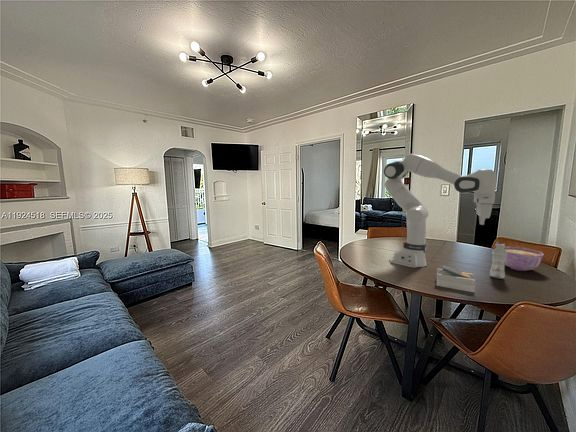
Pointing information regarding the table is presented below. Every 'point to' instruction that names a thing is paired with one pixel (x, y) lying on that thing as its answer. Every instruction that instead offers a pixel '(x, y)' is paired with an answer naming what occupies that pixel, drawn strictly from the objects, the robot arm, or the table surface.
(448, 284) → the box
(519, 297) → the table surface
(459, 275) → the gray and orange tool
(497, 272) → the plastic bottle
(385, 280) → the table surface
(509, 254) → the bowl of food
